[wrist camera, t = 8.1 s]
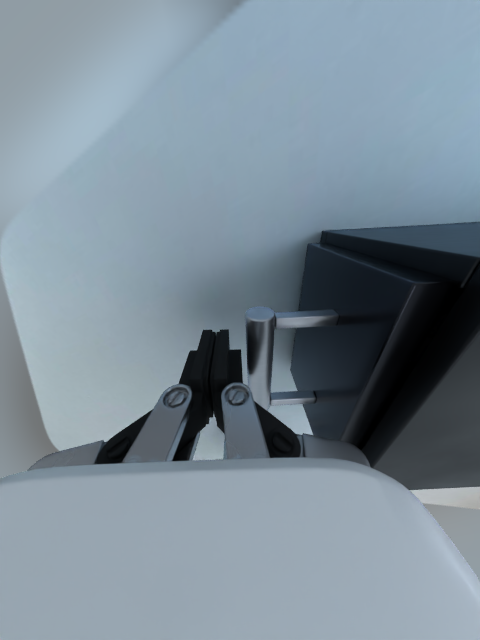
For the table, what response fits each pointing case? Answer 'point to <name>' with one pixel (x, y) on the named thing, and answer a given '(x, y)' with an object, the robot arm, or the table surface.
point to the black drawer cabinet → (431, 362)
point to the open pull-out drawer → (349, 338)
